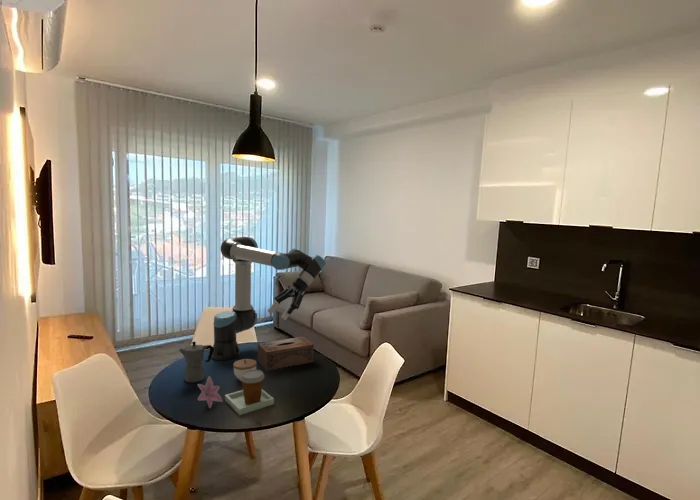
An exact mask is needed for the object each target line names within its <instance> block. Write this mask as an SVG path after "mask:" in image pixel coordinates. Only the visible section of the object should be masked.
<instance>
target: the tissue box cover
mask: <svg viewBox="0 0 700 500" xmlns="http://www.w3.org/2000/svg"><path fill="white" fill-rule="evenodd" d="M314 349H315V348H314V343H313V342H311V341H310V340H309V339H307V337H304V336H298V337H292V338H285V339H279V340H272V341H265V342H259V343H257V362H258V363H259V364H260V365H261V367H262V368H263V369H264V370H265V371H266V372H268V370H269V371H274V370H279V369H278V368H280V369H284V368H283V367H285V368H289V367H288V366H290V367H294V366H293V365H295V366H299V365H304V364H305V365H306V364H311V363H314V351H315V350H314ZM273 369H274V370H273Z"/></svg>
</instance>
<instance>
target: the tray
mask: <svg viewBox="0 0 700 500" xmlns="http://www.w3.org/2000/svg"><path fill="white" fill-rule="evenodd" d="M224 401H225V403H226V404H227V405H228V406H229V407H230V408H231V409H233V411H235V413H236V414H237V415H238V416H242V415H245V414H248V413H249V414H250V413H252V412H254V411H258V410H260V409H263V408H264V409H265V408H266V407H270V406H272V405H274V404H275V398H274V397H273V396H272V395H271V394H269V393H268V392H266V391H265V390H264V389H263V388H262V392H261V400H260V402H257V403H254V404H251V405H247V404H245V400H244V393H243V389H240V390H238V391H234V392H231V393H227V394H224Z"/></svg>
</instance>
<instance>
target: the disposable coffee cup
mask: <svg viewBox="0 0 700 500" xmlns="http://www.w3.org/2000/svg"><path fill="white" fill-rule="evenodd" d="M264 379H265V374H264V371H262V370H260V369H256V370H248V371H245V372H243V373H242V376H241V381H240V382H241V384H242V385H241V386H242V390H243V393H244V400H245V404H247V405H251V404H254V403H257V402H260V400H261V392H262V389H263V384H264Z"/></svg>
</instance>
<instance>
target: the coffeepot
mask: <svg viewBox="0 0 700 500" xmlns="http://www.w3.org/2000/svg"><path fill="white" fill-rule="evenodd" d="M206 350H209V353H208V357H207V359H206V360H204V355H205V354H204V353H205V351H206ZM213 351H214V348H213V345H211V344H206V345H202V344H197V342H196V341H192V342H191V345H188V346H187V345H186V346H185V347H182V348H180V349H178V352H180V354H182V356H183V357H184V361H185V363H186V367H185V372H184V376H183V377H184V378H183V379H184V381H185V382H186V383H197V382H200V381H203V380H204V379H205V377H206V374H205V369H204V365H203V360H204V362H205V363H210V362H211V360H212V358H211V357H212V354H213Z"/></svg>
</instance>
